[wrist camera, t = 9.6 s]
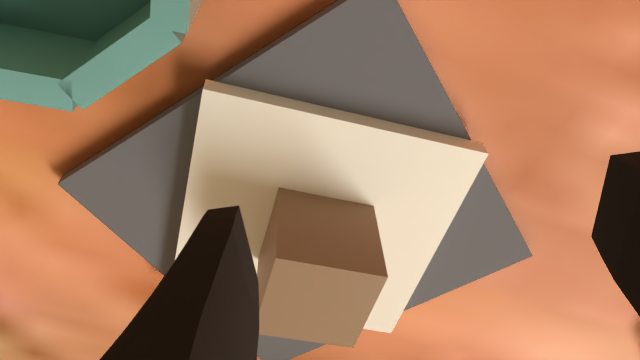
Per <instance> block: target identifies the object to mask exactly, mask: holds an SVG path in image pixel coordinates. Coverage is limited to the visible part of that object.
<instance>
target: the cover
mask: <svg viewBox="0 0 640 360" xmlns="http://www.w3.org/2000/svg"><path fill="white" fill-rule="evenodd" d="M487 156H488V152H487V150H486V148H485V146H484V145H483V143H481V142H476V141H472V140H467V139H463V138H459V137H454V136H450V135H446V134H441V133H437V132H433V131H428V130H424V129H420V128H415V127H411V126H407V125H402V124H398V123H394V122H389V121H385V120H381V119H376V118H372V117H368V116H363V115H359V114H355V113H350V112H346V111H342V110H337V109H333V108H329V107H324V106H320V105H316V104H311V103H307V102H303V101H298V100H294V99H290V98H285V97H281V96H277V95H272V94H268V93H264V92H259V91H255V90H251V89H246V88H242V87H238V86H233V85H229V84H225V83H220V82H216V81H212V80H207V79H206V80H205V83H204V86H203V90H202V96H201V102H200V109H199V115H198V121H197V127H196V133H195V139H194V146H193V152H192V158H191V164H190V170H189V176H188V182H187V189H186V195H185V201H184V207H183V213H182V219H181V226H180V232H179V238H178V244H177V250H176V256H175V260H176V258H177V257H178V255H179V253H180V252H181V250H182V249H183V247H184V246H185V244H186V243H187V241H188V239H189V238H190V236H191V235H192V233H193V231H194V230H195V228H196V226H197V225H198V223H199V222H200V220H201V218H202V217H203V215H204V214H205V213H206V211H207V210H208V209H216V208H223V207H231V206H238V205H239V207H240V211H241V215H242V219H243V223H244V227H245V231H246V234H247V238H248V242H249V246H250V250H251V254H252V258H253V262H254V266H255V269H256V273H257V277H258V284H259V334H260V335H267V336H274V337H281V338H288V339H295V340H302V341H309V342H317V343H324V344H331V345H338V346H345V347H352V348H353V347H354V345H355V343H356V341H357V339H358V337H359V335H360V333H361V331H362V329H368V330H374V331H381V332H388V333H391V332H392V331H393V329H394V327H395V325H396V323H397V321H398V320H399V318H400V316H401V314H402V312H403V310H404V309H405V307H406V305H407V303H408V301H409V299H410V297H411V296H412V294H413V292H414V290H415V288H416V286H417V285H418V283H419V281H420V279H421V277H422V275H423V274H424V272H425V270H426V268H427V266H428V264H429V263H430V261H431V259H432V257H433V255H434V253H435V251H436V250H437V248H438V246H439V244H440V242H441V240H442V239H443V237H444V235H445V233H446V231H447V229H448V228H449V226H450V224H451V222H452V220H453V218H454V217H455V215H456V213H457V211H458V209H459V207H460V205H461V204H462V202H463V200H464V198H465V196H466V194H467V193H468V191H469V189H470V187H471V185H472V183H473V182H474V180H475V178H476V176H477V174H478V172H479V171H480V169H481V167H482V165H483V163H484V161H485V159H486V158H487Z"/></svg>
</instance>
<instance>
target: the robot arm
mask: <svg viewBox="0 0 640 360" xmlns="http://www.w3.org/2000/svg"><path fill="white" fill-rule="evenodd" d="M591 237H592V239H593V241H594V243H595V245H596V247H597V249H598V251H599V253H600V255H601V257H602V259H603V261H604V263H605V264H606V266H607V268H608V270H609V272H610V273H611V275H612V277H613V279H614V281H615V282H616V284H617V285H618V286H619V288H620V289H621V291H622V292H623V294H624V295H625V296H626V298H627V299H628V301H629V302H630V303H631V305H632V306H633V308H634V309H635V310H636V312H637V313H638V315H639V316H640V152H633V153H625V154H618V155H611V156H610V160H609V164H608V168H607V173H606V177H605V181H604V185H603V189H602V194H601V198H600V202H599V206H598V211H597V215H596V219H595V223H594V228H593V232H592V236H591ZM258 338H259V284H258V277H257V273H256V269H255V266H254V262H253V258H252V254H251V250H250V246H249V242H248V238H247V234H246V231H245V227H244V223H243V219H242V215H241V211H240V207H239V205H238V206H231V207H223V208H216V209H208V210H207V211H206V213H205V214H204V215H203V217H202V218H201V220H200V222H199V223H198V225H197V226H196V228H195V230H194V231H193V233H192V235H191V236H190V238H189V239H188V241H187V243H186V244H185V246H184V247H183V249H182V250H181V252H180V253H179V255H178V257H177V258H176V260H175V261H174V263H173V264H172V266H171V267H170V268H169V270H168V271H167V273H166V274H165V276H164V277H163V279H162V280H161V282H160V283H159V285H158V286H157V287H156V289H155V290H154V292H153V293H152V295H151V296H150V297H149V299H148V300H147V301H146V303H145V304H144V305H143V306H142V308H141V309H140V310H139V312H138V313H137V314H136V316H135V317H134V318H133V320H132V321H131V322H130V323H129V325H128V326H127V327H126V329H125V330H124V331H123V332H122V334H121V335H120V336H119V337H118V339H117V340H116V341H115V342H114V343H113V345H112V346H111V347H110V348H109V349H108V351H107V352H106V353H105V354H104V355H103V356H102V358H101V359H100V360H256V359H257V349H258Z"/></svg>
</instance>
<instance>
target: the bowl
mask: <svg viewBox="0 0 640 360" xmlns="http://www.w3.org/2000/svg"><path fill="white" fill-rule="evenodd" d="M201 3H202V0H0V99H3V100H8V101H14V102H20V103H26V104H32V105H37V106H43V107H49V108H55V109H60V110H66V111H72V112H73V111H74V109H75V108H76V106H77V105H78V106H79V107H80V108H81V109H82V110H83V109H85V108H86V107H88V106H89V105H91V104H92V103H94V102H95V101H97V100H98V99H100V98H101V97H103V96H104V95H106V94H107V93H109V92H110V91H112V90H113V89H115V88H116V87H117V86H119V85H120V84H122V83H123V82H125V81H126V80H128V79H129V78H131V77H132V76H134V75H135V74H137V73H138V72H140V71H141V70H143V69H144V68H146V67H147V66H149V65H150V64H151V63H153V62H154V61H156V60H157V59H159V58H160V57H162V56H163V55H165V54H166V53H168V52H169V51H171V50H172V49H174V48H175V47H177V46H178V45H180V44H181V43H182V41H183V39H184V37H185V35H186V34H187V33H188V31H189V29H190V26H191V24H192V22H193V20H194V18H195V16H196V14H197V12H198V9H199V7H200V5H201Z"/></svg>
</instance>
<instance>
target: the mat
mask: <svg viewBox="0 0 640 360" xmlns="http://www.w3.org/2000/svg"><path fill="white" fill-rule="evenodd" d="M212 81H216V82H220V83H225V84H229V85H233V86H238V87H242V88H246V89H251V90H255V91H259V92H264V93H268V94H272V95H277V96H281V97H285V98H290V99H294V100H298V101H303V102H307V103H311V104H316V105H320V106H324V107H329V108H333V109H337V110H342V111H346V112H350V113H355V114H359V115H363V116H368V117H372V118H376V119H381V120H385V121H389V122H394V123H398V124H402V125H407V126H411V127H415V128H420V129H424V130H428V131H433V132H437V133H441V134H446V135H450V136H454V137H459V138H463V139H467V140H471V139H470V137H469V135H468V133H467V132H466V130H465V128H464V126H463V124H462V122H461V120H460V118H459V116H458V115H457V113H456V111H455V109H454V107H453V105H452V103H451V101H450V100H449V98H448V96H447V94H446V92H445V90H444V88H443V86H442V84H441V83H440V81H439V79H438V77H437V75H436V73H435V71H434V69H433V68H432V66H431V64H430V62H429V60H428V58H427V56H426V54H425V53H424V51H423V49H422V47H421V45H420V43H419V41H418V39H417V37H416V36H415V34H414V32H413V30H412V28H411V26H410V24H409V22H408V21H407V19H406V17H405V15H404V13H403V11H402V9H401V7H400V5H399V4H398V2H397V0H337V1H336V2H334V3H333V4H331V5H329V6H328V7H326V8H325V9H323V10H322V11H320V12H318V13H317V14H315V15H314V16H312V17H311V18H309V19H308V20H306V21H304V22H303V23H301V24H300V25H298V26H297V27H295V28H293V29H292V30H290V31H289V32H287V33H286V34H284V35H282V36H281V37H279V38H278V39H276V40H275V41H273V42H271V43H270V44H268V45H267V46H265V47H264V48H262V49H260V50H259V51H257V52H256V53H254V54H253V55H251V56H249V57H248V58H246V59H245V60H243V61H242V62H240V63H238V64H237V65H235V66H234V67H232V68H231V69H229V70H228V71H226V72H224V73H223V74H221V75H220V76H218V77H217V78H215V79H213V80H212ZM202 90H203V86H202V87H201V88H199V89H198V90H196V91H195V92H193V93H191V94H190V95H188V96H187V97H185V98H184V99H182V100H180V101H179V102H177V103H176V104H174V105H173V106H171V107H169V108H168V109H166V110H165V111H163V112H162V113H160V114H158V115H157V116H155V117H154V118H152V119H151V120H149V121H148V122H146V123H144V124H143V125H141V126H140V127H138V128H137V129H135V130H133V131H132V132H130V133H129V134H127V135H126V136H124V137H122V138H121V139H119V140H118V141H116V142H115V143H113V144H111V145H110V146H108V147H107V148H105V149H104V150H102V151H100V152H99V153H97V154H96V155H94V156H93V157H91V158H89V159H88V160H86V161H85V162H83V163H82V164H80V165H78V166H77V167H75V168H74V169H72V170H71V171H69V172H67V173H66V174H64V175H63V176H62V178H61V179H60V181H59V182H58V185H59V186H61V187H62V188H63V189H64V190H65V191H66V192H68V193H69V194H70V195H71V196H72V197H73V198H74V199H76V200H77V201H78V202H79V203H80V204H81V205H83V206H84V207H85V208H86V209H87V210H88V211H90V212H91V213H92V214H93V215H94V216H95V217H97V218H98V219H99V220H100V221H101V222H102V223H104V224H105V225H106V226H107V227H108V228H109V229H111V230H112V231H113V232H114V233H115V234H116V235H117V236H119V237H120V238H121V239H122V240H123V241H124V242H126V243H127V244H128V245H129V246H130V247H131V248H133V249H134V250H135V251H136V252H137V253H138V254H140V255H141V256H142V257H143V258H144V259H145V260H147V261H148V262H149V263H150V264H151V265H152V266H154V267H155V268H156V269H157V270H158V271H159V272H161V273H162V274H163V275H164V276H165V274H166V273H167V271H168V270H169V268H170V267H171V266H172V264H173V263H174V261H175V256H176V250H177V244H178V238H179V232H180V226H181V219H182V213H183V207H184V201H185V195H186V189H187V182H188V176H189V170H190V164H191V158H192V152H193V146H194V139H195V133H196V127H197V121H198V115H199V109H200V102H201V96H202ZM531 256H532V254H531V252H530V250H529V248H528V246H527V244H526V243H525V241H524V239H523V237H522V235H521V233H520V231H519V229H518V227H517V226H516V224H515V222H514V220H513V218H512V216H511V214H510V212H509V211H508V209H507V207H506V205H505V203H504V201H503V199H502V197H501V195H500V194H499V192H498V190H497V188H496V186H495V184H494V182H493V180H492V179H491V177H490V175H489V173H488V171H487V169H486V167H485V165H484V164H483V165H482V167H481V169H480V171H479V172H478V174H477V176H476V178H475V180H474V182H473V183H472V185H471V187H470V189H469V191H468V193H467V194H466V196H465V198H464V200H463V202H462V204H461V205H460V207H459V209H458V211H457V213H456V215H455V217H454V218H453V220H452V222H451V224H450V226H449V228H448V229H447V231H446V233H445V235H444V237H443V239H442V240H441V242H440V244H439V246H438V248H437V250H436V251H435V253H434V255H433V257H432V259H431V261H430V263H429V264H428V266H427V268H426V270H425V272H424V274H423V275H422V277H421V279H420V281H419V283H418V285H417V286H416V288H415V290H414V292H413V294H412V296H411V297H410V299H409V301H408V303H407V305H406V307H405V309H404V310H403V311H405V310H407V309H409V308H412V307H414V306H416V305H419V304H421V303H423V302H426V301H428V300H430V299H433V298H435V297H437V296H440V295H442V294H445V293H447V292H449V291H452V290H454V289H456V288H459V287H461V286H463V285H466V284H468V283H470V282H473V281H475V280H477V279H480V278H482V277H484V276H487V275H489V274H491V273H494V272H496V271H498V270H501V269H503V268H505V267H508V266H510V265H512V264H515V263H517V262H520V261H522V260H524V259H527V258H529V257H531ZM323 345H325V344H324V343H317V342H309V341H302V340H295V339H288V338H281V337H274V336H267V335H260V334H259V338H258V349H257V356H258V357H259V358H260V359H262V360H290V359H292V358H295V357H297V356H299V355H302V354H304V353H306V352H309V351H311V350H313V349H316V348H318V347H320V346H323Z"/></svg>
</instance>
